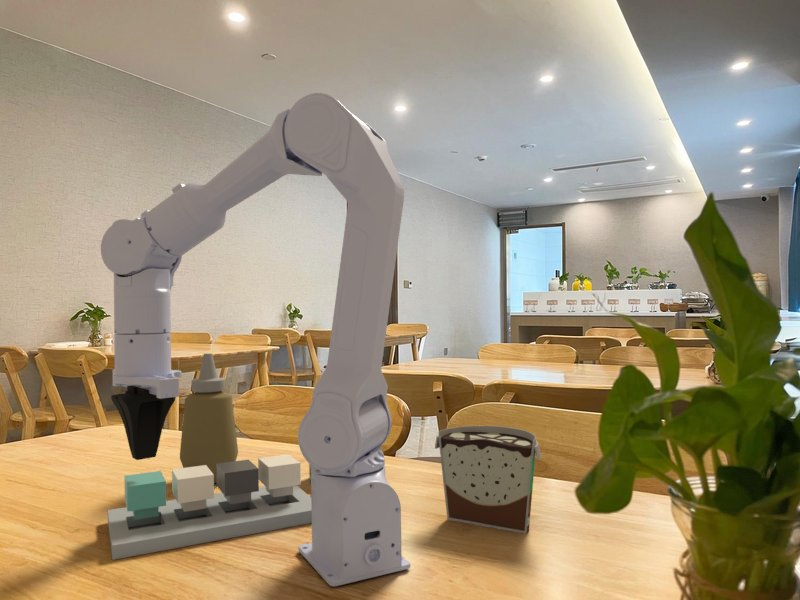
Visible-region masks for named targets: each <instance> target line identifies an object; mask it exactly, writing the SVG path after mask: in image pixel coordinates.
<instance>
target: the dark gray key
mask: <svg viewBox="0 0 800 600" xmlns="http://www.w3.org/2000/svg"><path fill="white" fill-rule="evenodd" d="M216 466H217V483H216V487H217V488H218V489H219V490H220V493H223V494H224V497H225V498H226V500H227V501H228V502H229V504H236V503H242V502H248V501H251V492H257V491H259V487H260V485H259V483H260V480H259V472H258V467H257V466H256V465H255V464H254V462H252V461H251V460H250V459H243V460H236V461H233V462H225V463H218V464H216Z"/></svg>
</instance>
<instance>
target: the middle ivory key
mask: <svg viewBox="0 0 800 600" xmlns="http://www.w3.org/2000/svg"><path fill="white" fill-rule="evenodd" d="M171 483H172V484H171V492H172V495H173V496H174V498H175V499H174V500H176V501H177V503H178V504H180V505H181V507H182V509H183V511H184V512H186V511H193V510H199V509H205V508H207V505H206V499H212V498H214V494H215V483H214V474H213V473H212V472H211V471H210V469H209V468H208V467H207V466H206V465H202V466H195V467H187V468H183V467H180V468H174V469H171Z"/></svg>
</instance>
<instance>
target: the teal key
mask: <svg viewBox="0 0 800 600" xmlns="http://www.w3.org/2000/svg"><path fill="white" fill-rule="evenodd" d="M166 501H167V481H166V479H165V476H164V474H163V473H162V471H161V470H157V471H151V472H140V473H134V474H127V475H124V502H125V507H127V512H128V511H132V512H133V516H134V520H137V519H143V518H149V517H155V516H159V507H160V506H166Z"/></svg>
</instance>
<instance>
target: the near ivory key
mask: <svg viewBox="0 0 800 600" xmlns="http://www.w3.org/2000/svg"><path fill="white" fill-rule="evenodd" d="M257 460H258V461H257V463H258V464H257V466H258V467H257V468H258V472H259V482H261V484H263V485H264V486H266V491H267V492H268V493H269V494H270V495H272V496H273V497H279V496H285V495H292V494H293V486H296V485H297V486H300V485H302V483H301V482H302V481H301V475H302V474H301V462H300V461H298V460H297V459H296V458H294V457H293V456H291V455H290V454H289V453H287V454H281V455H273V456H265V457H258V459H257Z"/></svg>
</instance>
